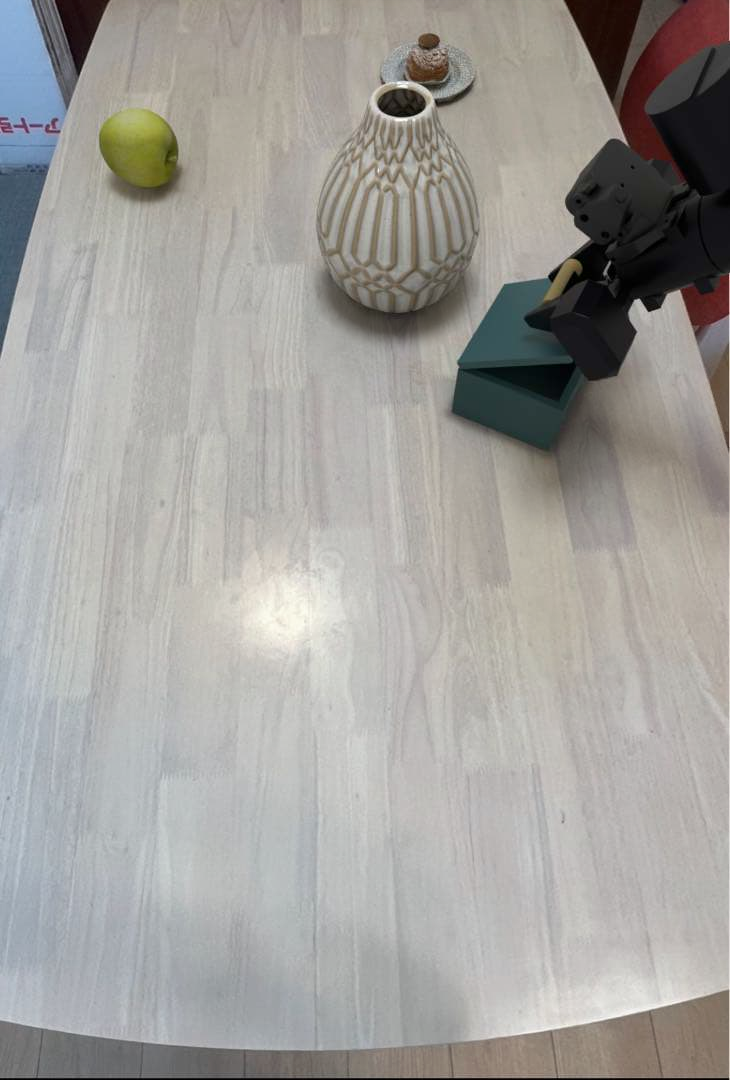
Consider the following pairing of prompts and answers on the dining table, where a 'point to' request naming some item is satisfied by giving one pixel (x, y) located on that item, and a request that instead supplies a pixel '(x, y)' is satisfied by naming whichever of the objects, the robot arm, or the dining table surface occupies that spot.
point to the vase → (398, 205)
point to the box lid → (518, 326)
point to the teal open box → (519, 399)
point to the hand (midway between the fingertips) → (539, 300)
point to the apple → (139, 147)
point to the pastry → (430, 67)
